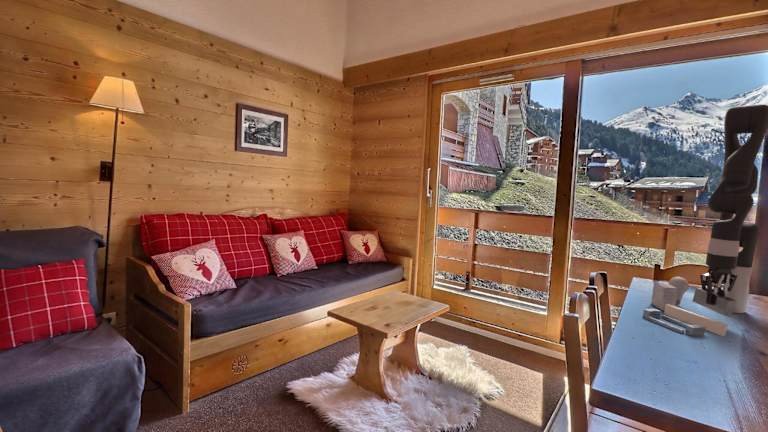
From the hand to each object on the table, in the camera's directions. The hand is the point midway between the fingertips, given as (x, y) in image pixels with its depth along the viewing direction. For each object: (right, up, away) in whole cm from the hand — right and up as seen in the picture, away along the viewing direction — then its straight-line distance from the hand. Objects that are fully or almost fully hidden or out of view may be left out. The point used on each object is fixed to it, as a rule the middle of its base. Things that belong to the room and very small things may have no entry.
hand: (714, 303), depth 126 cm
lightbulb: (+1, -5, +19) cm, 19 cm away
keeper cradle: (-17, -6, -4) cm, 19 cm away
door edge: (-9, -6, -2) cm, 11 cm away
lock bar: (0, -2, +1) cm, 2 cm away
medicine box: (-7, -5, +14) cm, 17 cm away
